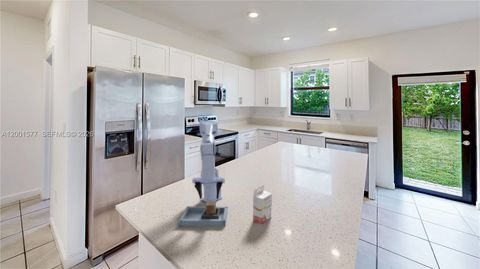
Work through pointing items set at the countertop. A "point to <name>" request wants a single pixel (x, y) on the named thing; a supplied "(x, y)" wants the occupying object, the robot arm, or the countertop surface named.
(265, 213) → the ink cartridge box
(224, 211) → the blue shallow rectangular tray
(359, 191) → the countertop surface
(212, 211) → the tan wooden block
